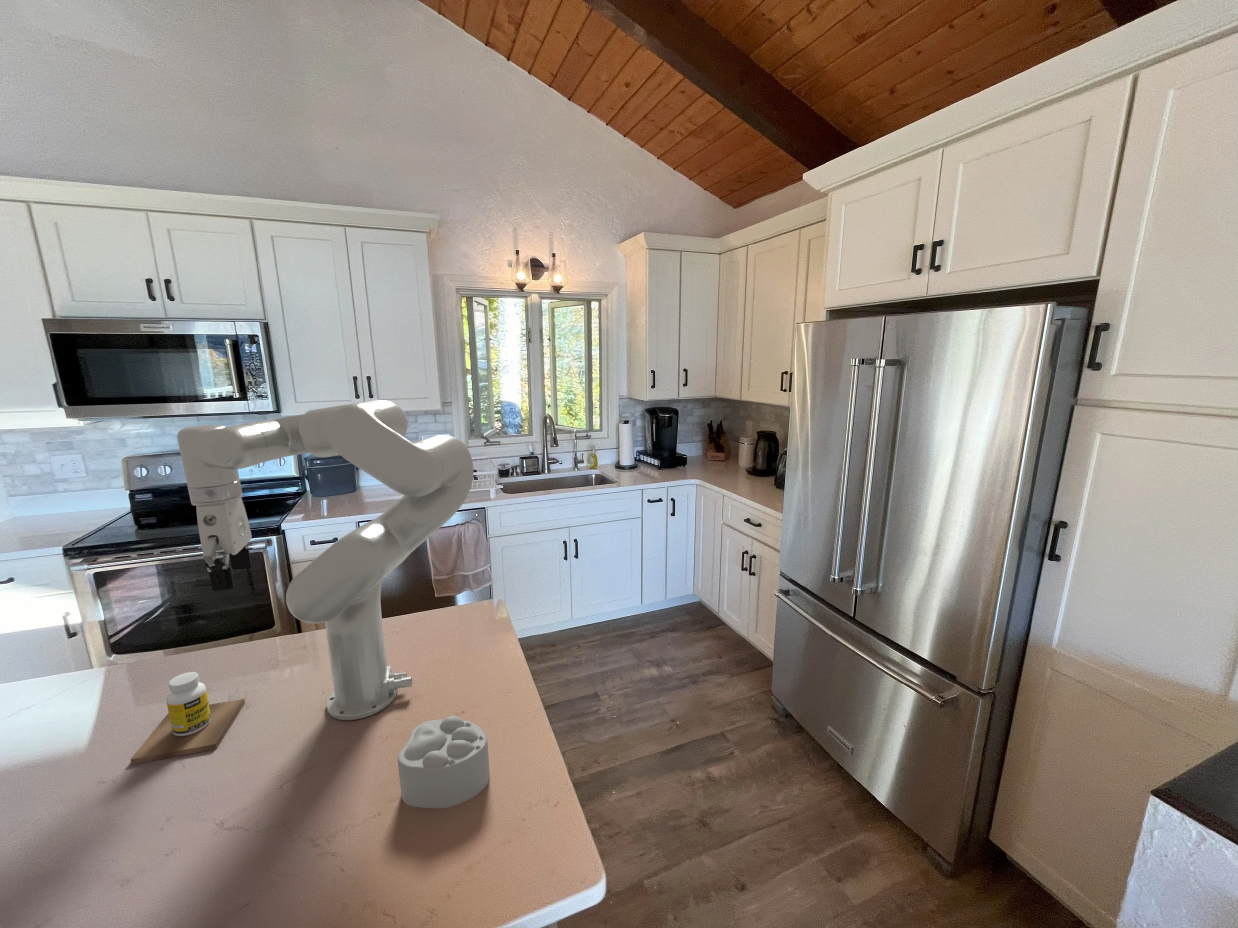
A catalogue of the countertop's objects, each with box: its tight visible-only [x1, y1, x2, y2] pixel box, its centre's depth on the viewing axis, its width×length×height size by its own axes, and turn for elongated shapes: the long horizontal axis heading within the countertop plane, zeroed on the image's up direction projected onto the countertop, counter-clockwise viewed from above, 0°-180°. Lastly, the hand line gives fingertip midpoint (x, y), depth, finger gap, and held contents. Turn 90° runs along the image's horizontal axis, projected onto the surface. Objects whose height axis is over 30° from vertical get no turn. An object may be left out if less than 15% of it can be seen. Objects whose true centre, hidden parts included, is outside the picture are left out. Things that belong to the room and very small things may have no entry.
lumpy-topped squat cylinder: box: [397, 715, 491, 809], centre depth 80 cm, size 10×13×9 cm
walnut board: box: [129, 698, 246, 765], centre depth 91 cm, size 12×12×1 cm
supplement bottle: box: [165, 671, 211, 736], centre depth 90 cm, size 5×5×10 cm
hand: (233, 578), depth 96 cm, fingers open, 9 cm apart
